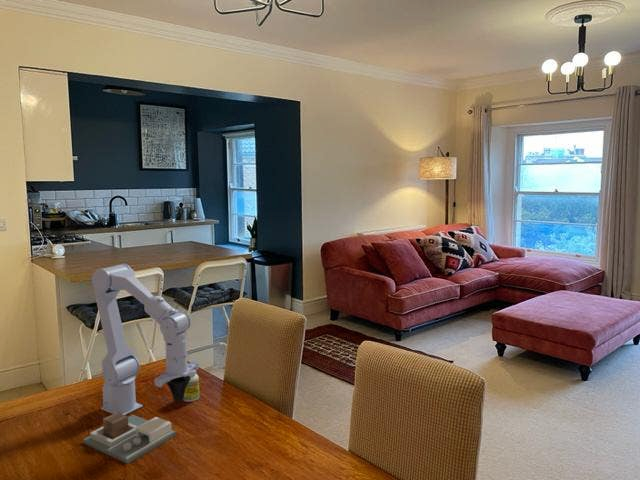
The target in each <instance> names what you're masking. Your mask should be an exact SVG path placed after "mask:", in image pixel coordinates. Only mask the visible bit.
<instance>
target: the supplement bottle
mask: <svg viewBox="0 0 640 480" xmlns="http://www.w3.org/2000/svg"><path fill="white" fill-rule="evenodd" d="M189 373H190V375H188V376H190V381H189V383H188V385H187V387H186V390H185V393H184V398H183V401H184V402H190V403H191V402H195V401H197V400H198V399H199V398H200V383H199V382H200V377H199V375H198V374H197V370H193V371H191V372H189Z"/></svg>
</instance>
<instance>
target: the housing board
mask: <svg viewBox="0 0 640 480" xmlns="http://www.w3.org/2000/svg"><path fill="white" fill-rule="evenodd" d="M147 421H149V420H147V419H145V418H143V417H140V416H137V415H135V414H131V415H130V416H128V426H129V431H128V432H126V433H124V434H122V435H120V436H118V437H116V438H114V439H113V440H112V439H110V438H108V437H106V436H104V427H103V426H100V427H99V428H97V429H95V430H93V431H91V432H90V433H89V436H86V437H85V438H83V439H82V443H83V444H85V445H87V446H89V447H91V448H93V449H95V450H98V451H99V452H101V453H103V454H106V455H107V456H110V457H112V458H114V459H116V460H118V461H121V462H122V463H125V464H127V465H128V464H130V463H132V462H134V461H135V460H137V459H139V458H140V457H141V456H143V455H145V454H146V453H149V452H151V451H152V450H153V449H154V450H155V448H157V447H158V446H161V445H162V444H163V443H165V442H167V441H169V440H170V439H172V438H174V437H175V436H177V431H176V430H173V429H172V431H171V432H169V433H167V434H166V435H164V436H162V437H161V438H159V439H157V440H155V441H154V442H152V443H149V436H148V435H143V436H141V437H136V430H135V428H136V427H138V426H140V425H142V424H143V423H145V422H147Z"/></svg>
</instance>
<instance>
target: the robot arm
mask: <svg viewBox="0 0 640 480" xmlns="http://www.w3.org/2000/svg"><path fill="white" fill-rule="evenodd" d="M91 282H92V287H93V292H94V295H95V297H94V298H95V301H96V305H97V309H98V310H97V311H98V314H99V318H100V323H101V327H102V332H103V336H104V341H105V345H106V349H107V353H106V355H105V356H104V357H103V359H102V361H101V365H102V371H101V375H102V379H103V381H104V383H103V386H102V400H103V401H102V402H103V406H102V407H100V409H101V410H102V411H105V412H107V413H109V414H111V415H113V414H115V413H117V412H119V413H121V414H123V415H125V416H127V415H129V414H130V413H132V412H134V411H136V410H138V409H140V408H142V407H143V404H141V403H138V402H137V399H136V398H137V397H136V396H137V395H136V378H137V375H138V373H140V370H141V364H140V362H139V360H138V358H137V355H136V352H135V350H133V349H131V348H129V347H128V345H127V341H126V337H125V332H124V329H123V323H122V320H121V319H122V318H121V315H120V311H119V306H118V301H117V295H118V294H119V293H120V291H126V292H127V293H128V294H129V295H130V296H132V297H134V299H136V300H138V302H140V303H141V304H142V305H144V307H143V308H144V312H145V313H147V315H148V316H149V317H151V318H152V319H153V320H154V321H155V322H156V323H157V324H158V325H159V330H160V332H161V334H162V335H163V341H164V343H165V361H166V365H165V366H166V370H165V371H164V372H163V373H161V374H160V375H159V376H158V377H156V378H154V386H155V387H158V388H161V387H163V385H164V384H166V385H167V386H168V388H169V391H170V392H171V396H172V398H173V401H174V402H175V403H178V404H181V403H182V402H183V401H184V400H183V398H184V393H185V390H186V387H187V385H188V383H189V381H190V376H188V375H190V373H189V372H191V371H193V370H196V371H197V370H199V368H200V367H199V362H197V361H191V362H189V363H188V344H187V343H188V341H187V337H188V336H187V331H188V330H189V329H190V327H191V319H190V317H189V315H188V314H187V313H186V312H185V311H183V310H178V309H175V308H174V307H173V306H171V304H169V303H168V302H167V301H166V300H165V298H164V297H163V296H160V295H153V294H152V293H151V291H149V290H148V289H147V288H146V286H145V285H144V284H142V282H141V281H139V279H138V278H137V277H136V273H135V270H134V269H133V268H132V267H130V265H129V264H126V263H120V264H118V265H112V266H109V267H104V268H98V269H96V270H95V271H94V273H93V274H92V276H91Z"/></svg>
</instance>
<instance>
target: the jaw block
mask: <svg viewBox="0 0 640 480" xmlns="http://www.w3.org/2000/svg"><path fill="white" fill-rule="evenodd" d="M128 417H129V416H127V415H123V414H121V413H119V412H117V413H115V414H110V415H109V416H106V417H104V418H102V423H103V425H102V427H104V436H106V437H108V438H110V439H112V440H113V439H114V438H116V437H118V436H120V435H122V434H124V433H126V432H128V431H129V426H128Z"/></svg>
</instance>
